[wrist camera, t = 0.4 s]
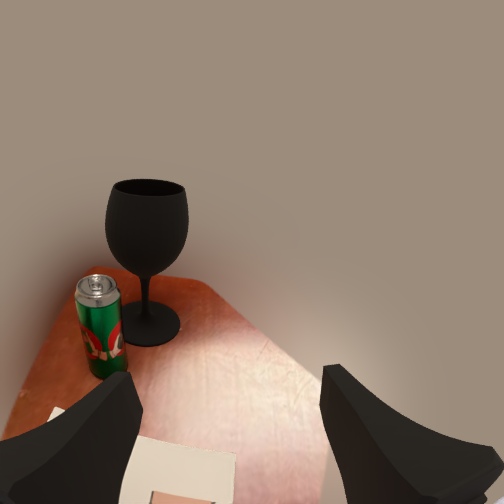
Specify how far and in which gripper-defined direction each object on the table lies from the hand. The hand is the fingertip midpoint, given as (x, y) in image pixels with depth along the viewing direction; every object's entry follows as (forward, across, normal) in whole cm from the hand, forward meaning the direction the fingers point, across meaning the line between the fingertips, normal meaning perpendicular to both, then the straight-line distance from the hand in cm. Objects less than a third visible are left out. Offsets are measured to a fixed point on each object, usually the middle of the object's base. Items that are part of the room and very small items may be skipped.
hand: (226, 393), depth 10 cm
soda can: (+19, +17, +14) cm, 29 cm away
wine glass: (+29, +14, +12) cm, 35 cm away
